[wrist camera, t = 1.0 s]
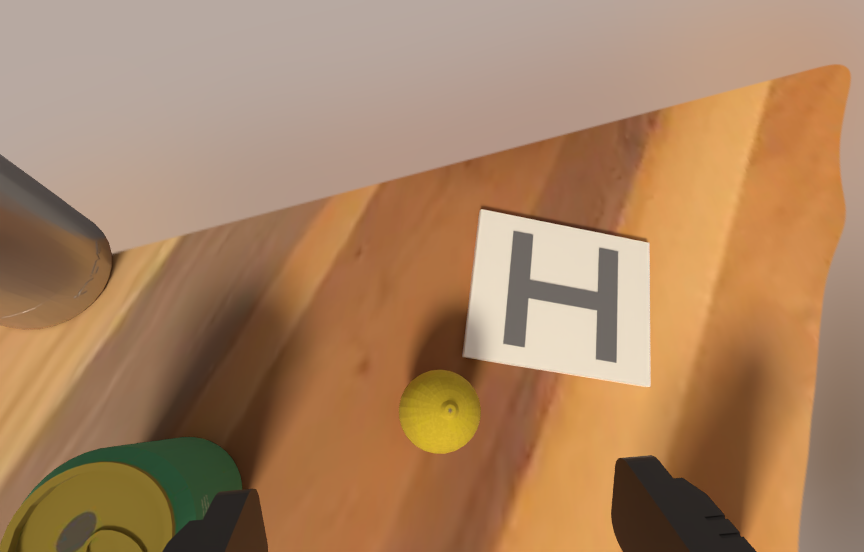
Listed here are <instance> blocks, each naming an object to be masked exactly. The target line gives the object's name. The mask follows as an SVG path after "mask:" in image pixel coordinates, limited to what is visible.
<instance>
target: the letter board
mask: <svg viewBox="0 0 864 552" xmlns="http://www.w3.org/2000/svg"><path fill="white" fill-rule="evenodd" d="M462 357H465V358H471V359H477V360H483V361H489V362H495V363H502V364H508V365H514V366H520V367H526V368H532V369H538V370H544V371H551V372H557V373H563V374H569V375H575V376H581V377H587V378H593V379H600V380H606V381H612V382H618V383H624V384H630V385H636V386H643V387H650V261H649V243H647V242H642V241H637V240H632V239H628V238H623V237H618V236H613V235H608V234H603V233H598V232H593V231H588V230H583V229H578V228H573V227H568V226H563V225H558V224H553V223H548V222H543V221H538V220H533V219H528V218H523V217H518V216H513V215H508V214H503V213H498V212H493V211H488V210H483V209H481V210H480V212H479V219H478V227H477V236H476V244H475V253H474V261H473V270H472V278H471V287H470V296H469V304H468V313H467V321H466V330H465V338H464V347H463V355H462Z"/></svg>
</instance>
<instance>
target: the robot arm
mask: <svg viewBox="0 0 864 552" xmlns="http://www.w3.org/2000/svg"><path fill="white" fill-rule="evenodd" d="M111 267H112V253H111V250H110V245H109V242H108V240H107V239H106V237H105V235H104V233H103V232H102V231H101V230H100V229H99V228H98V227H97V226H96V225H95V224H94V223H93V222H91V221H90V220H89V219H87V218H86V217H85V216H83V215H82V214H81V213H79V212H78V211H76V210H75V209H74V208H72V207H71V206H70V205H68V204H67V203H66V202H65V201H63V200H62V199H61V198H59V197H58V196H56V195H55V194H54V193H52V192H51V191H50V190H48V189H47V188H45V187H44V186H43V185H41V184H40V183H39V182H37V181H36V180H35V179H33V178H32V177H30V176H29V175H28V174H26V173H25V172H24V171H22V170H21V169H19V168H18V167H17V166H16V165H14V164H13V163H11V162H10V161H8V160H7V159H6V158H5V157H3V156H2V155H0V325H3V326H7V327H12V328H18V329H41V328H46V327H51V326H55V325H58V324H60V323H63V322H65V321H68V320H70V319H72V318H73V317H75V316H76V315H78V314H80V313H81V312H83V311H84V310H85V309H86V308H87V307H89V306H90V305H91V304H92V303H93V302H94V301H95V300H96V298H97V297H98V296H99V295H100V293H101V292H102V291H103V289H104V287H105V285H106V283H107V281H108V279H109V275H110V271H111ZM611 518H612V525H613V529H614V533H615V536H616V539H617V541H618V543H619V545H620V547H621V549H622V551H623V552H756V551H755V549H754V548H753V547H752V546H751V545H750V544H749V543H748V541H747V540H746V539H745V538H744V537H741V536H740V532H739V531H738V530H737V529H736V528H735V526H734V525H733V524H732V523H731V522H730V521H729V520H728V519H725V516H724V514H723V513H722V512H721V510H720V509H719V508H718V507H717V506H716V505H715V503H714V502H713V501H712V500H711V499H710V498H709V497H708V495H707V494H705V493H704V492H702V491H701V490H700V489H698V488H697V487H695V486H694V485H692V484H691V483H689V482H688V481H686V480H685V479H683V478H674V479H673V478H672V476H671V475H670V474H669V473H668V471H667V470H666V469H665V468H664V466H663V465H662V464H661V463H660V461H659V460H658V459H657V458H656V457H654V456H651V455H650V456H638V457H627V458H619V459H618V460H617V461H616V465H615V475H614V487H613V498H612V510H611ZM162 552H268V544H267V538H266V533H265V527H264V522H263V517H262V511H261V506H260V500H259V495H258V492H257V490H256V489H244V490H232V491H221V492H218V493H217V494H216V495H215V497H214V498H213V500H212V502H211V504H210V506H209V508H208V510H207V512H206V514H205V516H204V518H203V520H192V521H189V522H188V523H187V524H186V525H185V526H184V527H183V528H182V529H181V530H180V531H179V532H178V533H177V534H176V535H175V536H174V537H173V538H172V539H171V540H170V541H169V542H168V543H167V544H166V546H165V548H164V550H163V551H162Z"/></svg>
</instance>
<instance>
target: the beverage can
mask: <svg viewBox="0 0 864 552" xmlns="http://www.w3.org/2000/svg"><path fill="white" fill-rule="evenodd" d="M232 490H242V482H241V476H240V473H239V471H238V468H237V466H236V464H235V462H234V461H233V459H232V458H231V457H230V455H229V454H228V453H227V452H226V451H225V450H224V449H222V448H221V447H220V446H218V445H217V444H215V443H213V442H211V441H208V440H205V439H202V438H196V437H180V438H173V439H165V440H158V441H151V442H143V443H136V444H129V445H121V446H114V447H107V448H100V449H97V450H93V451H90V452H86V453H84V454H82V455H79V456H77V457H75V458H73V459H71V460H69V461H67V462H66V463H64V464H62V465H61V466H59V467H57V468H56V469H55V470H54V471H52V472H51V473H50V474H49V475H47V476H46V477H45V478H44V479H43V480H42V481H41V482H40V483H39V484H38V485H37V486H36V487H35V488H34V489H33V490H32V491H31V493H30V494H29V495H28V497H27V498H26V499H25V501H24V502H23V503H22V505H21V507H20V508H19V509H18V510H17V512H16V513H15V515H14V516H13V518H12V520H11V521H10V523H9V525H8V527H7V529H6V531H5V534H4V536H3V539H2V541H1V545H0V552H162V551H163V550H164V548H165V546H166V544H167V543H168V542H169V541H170V540H171V539H172V538H173V537H174V536H175V535H176V534H177V533H178V532H179V531H180V530H181V529H182V528H183V527H184V526H185V525H186V524H187V523H188V522H189V521H192V520H203V518H204V516H205V514H206V512H207V510H208V508H209V506H210V504H211V502H212V500H213V498H214V497H215V495H216V494H217V493H218V492H221V491H232Z"/></svg>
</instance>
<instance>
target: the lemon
mask: <svg viewBox="0 0 864 552" xmlns="http://www.w3.org/2000/svg"><path fill="white" fill-rule="evenodd" d="M480 414H481V407H480V402H479V398H478V396H477V394H476V392H475V389H474V388H473V387H472V386H471V384H470V383H469V382H468V381H467V380H466V379H464V378H463V377H462V376H460V375H458V374H456V373H454V372H452V371H446V370H431V371H428V372H425V373H423V374H420V375H419V376H418V377H416V378H415V379H413V380H412V381H411V382H410V384H409V385H408V386H407V387H406V388H405V390H404V393H403V395H402V397H401V400H400V405H399V419H400V422H401V426H402V429H403V431H404V432H405V434H406V436H407V438H408V439H409V440H410V441H411V442H412V443H413V444H414V445H416V446H417V447H419V448H421V449H422V450H424V451H428V452H431V453H449V452H452V451H456V450H457V449H459V448H461V447H462V446H464V445H465V444H466V443H467V442H468V441H469V440H470V439H471V438H472V437H473V435H474V434H475V432H476V430H477V428H478V425H479V421H480Z"/></svg>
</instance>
